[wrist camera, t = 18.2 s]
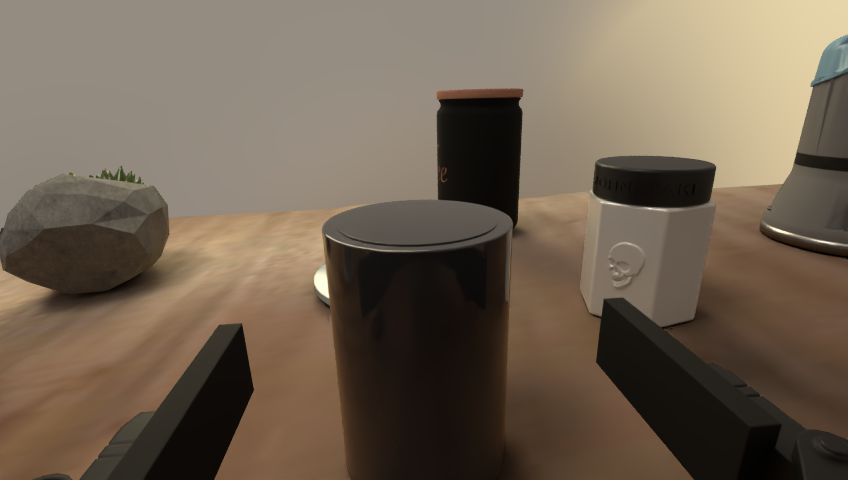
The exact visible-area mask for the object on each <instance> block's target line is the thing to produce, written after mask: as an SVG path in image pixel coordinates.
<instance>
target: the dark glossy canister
mask: <svg viewBox="0 0 848 480" xmlns="http://www.w3.org/2000/svg"><path fill="white" fill-rule="evenodd" d="M512 233H513V222H512V220H511V218H510V217H509V216H508V215H506V214H505V213H503V212H501V211H499V210H497V209H494V208H491V207H487V206H484V205H479V204H474V203H468V202H460V201H448V200H408V201H395V202H386V203H378V204H372V205H367V206H362V207H358V208H354V209H351V210H348V211H345V212H342V213H340V214H337V215H335V216H333V217H332V218H330V219H329V220H327V221H326V222H325V224H324V225H323V228H322V236H323V245H324V255H325V264H326V274H327V283H328V293H329V302H330V311H331V321H332V330H333V340H334V349H335V359H336V368H337V378H338V387H339V397H340V406H341V415H342V425H343V434H344V444H345V453H346V462H347V468H348V471H349V473H350V476H351V478H352V480H496V478H497V477H498V475H499V472H500V470H501V467H502V463H503V455H504V432H505V407H506V383H507V358H508V333H509V308H510V283H511V258H512Z"/></svg>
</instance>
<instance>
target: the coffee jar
mask: <svg viewBox="0 0 848 480" xmlns="http://www.w3.org/2000/svg"><path fill="white" fill-rule="evenodd" d="M522 96H523V89H472V90H449V91H438V92H437V99H440V100H439V102H440V103H441V107H440V109H439V110H438V111H437V157H438V158H437V160H438V161H437V162H438V200H448V201H460V202H468V203H474V204H479V205H484V206H487V207H491V208H494V209H497V210H499V211H501V212H503V213H505V214H506V215H508V216H509V217H510V218H511V220H512V222H513V229H514V228H515V226H516V224H517V222H518V200H519V176H520V155H521V133H522V109H521V108H520V106H519V100H520V99H521V98H518V97H522Z"/></svg>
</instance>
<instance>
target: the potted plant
mask: <svg viewBox="0 0 848 480" xmlns="http://www.w3.org/2000/svg"><path fill="white" fill-rule="evenodd" d="M134 180H135V175H134V176H132V171H131V172H130V174H128V175H127V176H126V175H125V174H124V172H123V169H122V166H121V167H120V169H118V172H117V173H116V175H115V176H114V177H113V176H112V174H111V173H110V171H109V172H108V171H107V170H106V169H105V170H104V171H102V175H101V177H100V176H99V175H98V174H97V176H96V178H94V177H93V176H89V177H83V176H76V175H75V174H74V173H69V175H66V174H61V175H59V176H57V177H54V178H52V179H49V180H47V181H45V182H43V183H40V184H38V185H35V186H34V187H33V189H31V190H29V191H27V192H26V193H25V194H24V196H23V197H22V198H21V199H20V200H19V202H18V203H17V204H16V205H15V206H14V208H13V209H12V210H11V211H10V212H9V213H8V216H7V219H6V222H5V226H4V228H2V229H1V232H0V259H1V263H2V268H3V270H4V271H6V272H8V273H10V274H12V275H14V276H17V277H19V278H21V279H23V280H25V281H27V282H30V283H33V284H36V285H40V286H43V287H46V288H50V289H53V290H56V291H60V292H63V293H66V294H76V293H87V292H99V291H107V290H109V289H111V288H113V287H115V286H117V285H119V284H121V283H123V282H125V281H127V280H129V279H131V278H133V277H134V276H136V275H138V274H139V273H141V272H143V271H144V270H146V269H147V268H149V267H151V266H152V265H153V264H154V263H155V262H156V261H157V260H158V259H159V258H160V257H161V255H162V252H163V249H164V247H165V244H166V241H167V238H168V236H169V218H168V205H167V204H166V202H165V201H164V199H163V198H162V196H161V195H160V194H159V192H158V191H157V190H156V188H155V187H154V186H150V185H143V181H142V182H141V177H139V178H138V179H137V180H136V181H134Z"/></svg>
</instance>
